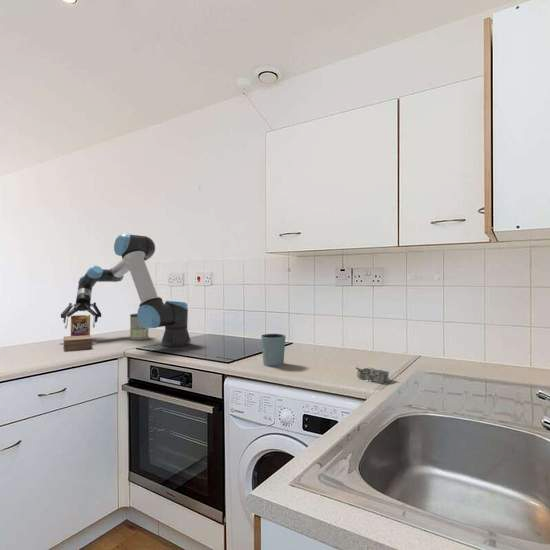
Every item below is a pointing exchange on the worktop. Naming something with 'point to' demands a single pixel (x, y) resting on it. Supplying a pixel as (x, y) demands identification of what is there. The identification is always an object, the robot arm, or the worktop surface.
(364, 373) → the mottled grey-green oblong lump
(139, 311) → the robot arm
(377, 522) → the worktop surface
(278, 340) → the teal cup
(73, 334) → the candy box
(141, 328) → the coffee can
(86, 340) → the walnut stand
